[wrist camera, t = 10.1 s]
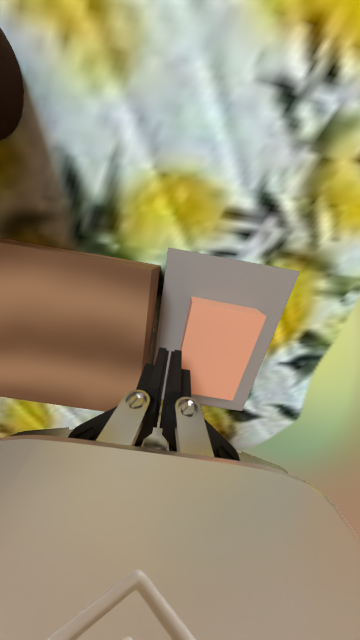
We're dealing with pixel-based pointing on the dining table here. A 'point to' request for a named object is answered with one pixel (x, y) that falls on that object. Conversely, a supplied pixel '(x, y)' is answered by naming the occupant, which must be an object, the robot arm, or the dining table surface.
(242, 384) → the mat
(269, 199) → the dining table surface
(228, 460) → the robot arm
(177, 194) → the dining table surface
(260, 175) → the dining table surface
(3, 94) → the coffee mug
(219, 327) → the salmon orange flat block
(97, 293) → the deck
